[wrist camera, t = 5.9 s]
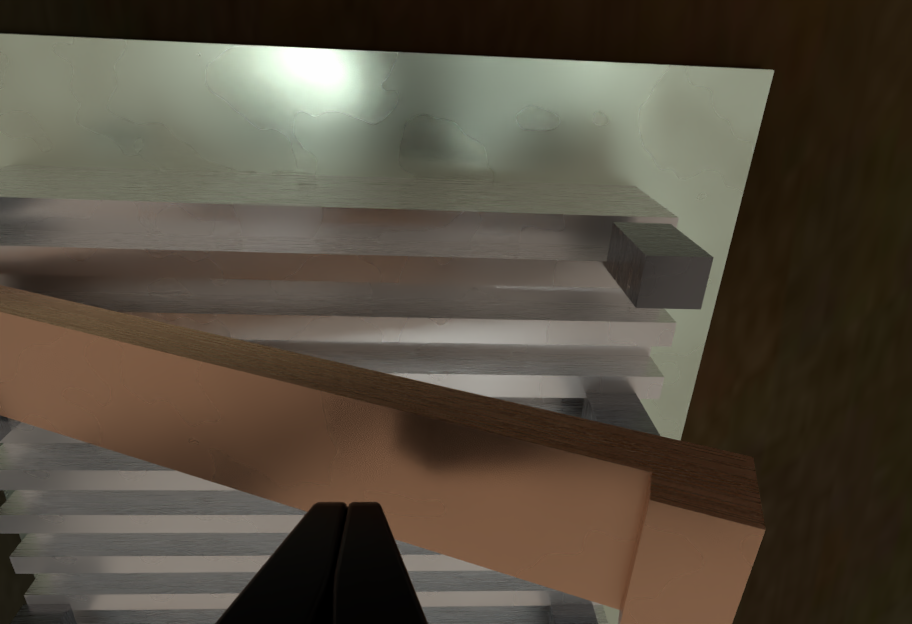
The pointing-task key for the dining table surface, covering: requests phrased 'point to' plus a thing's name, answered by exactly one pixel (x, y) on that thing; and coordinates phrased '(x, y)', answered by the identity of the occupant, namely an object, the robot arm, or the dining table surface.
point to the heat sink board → (353, 269)
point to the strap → (399, 456)
